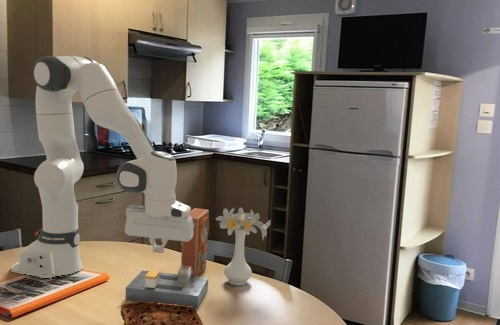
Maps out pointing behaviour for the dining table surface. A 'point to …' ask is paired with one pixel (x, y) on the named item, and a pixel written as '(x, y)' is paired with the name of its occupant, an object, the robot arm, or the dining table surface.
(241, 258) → the flower vase
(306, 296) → the dining table surface
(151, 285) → the block
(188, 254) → the orange retro radio
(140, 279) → the box
